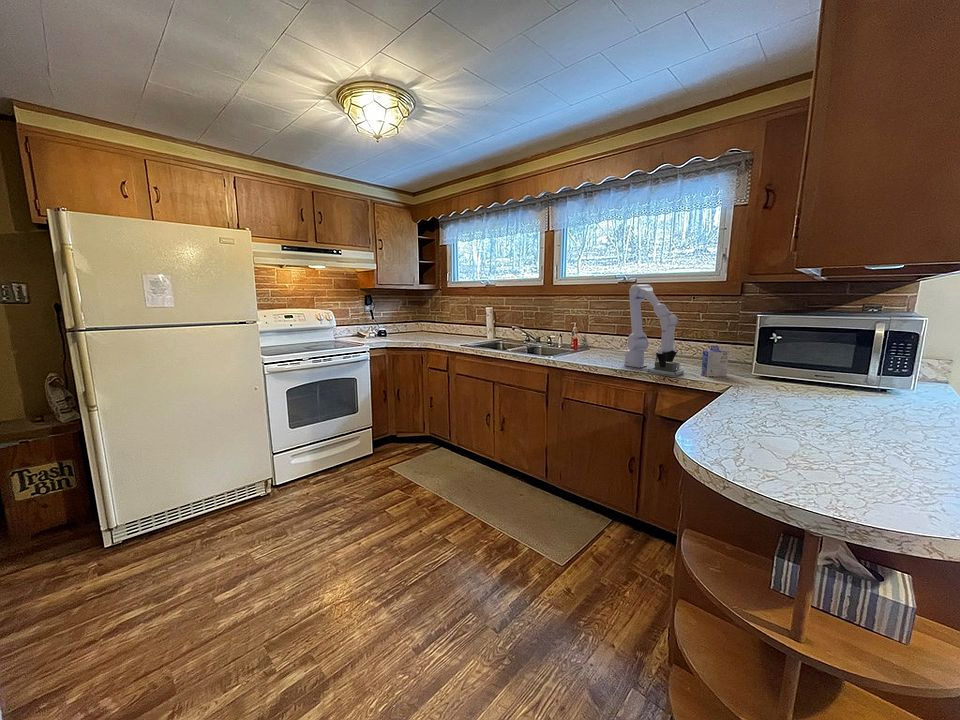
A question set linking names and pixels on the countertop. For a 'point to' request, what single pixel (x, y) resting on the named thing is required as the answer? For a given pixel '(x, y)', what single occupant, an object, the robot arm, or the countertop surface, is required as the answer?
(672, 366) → the gray white block
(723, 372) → the ink cartridge box
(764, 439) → the countertop surface
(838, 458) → the countertop surface
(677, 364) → the bay
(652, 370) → the tray
